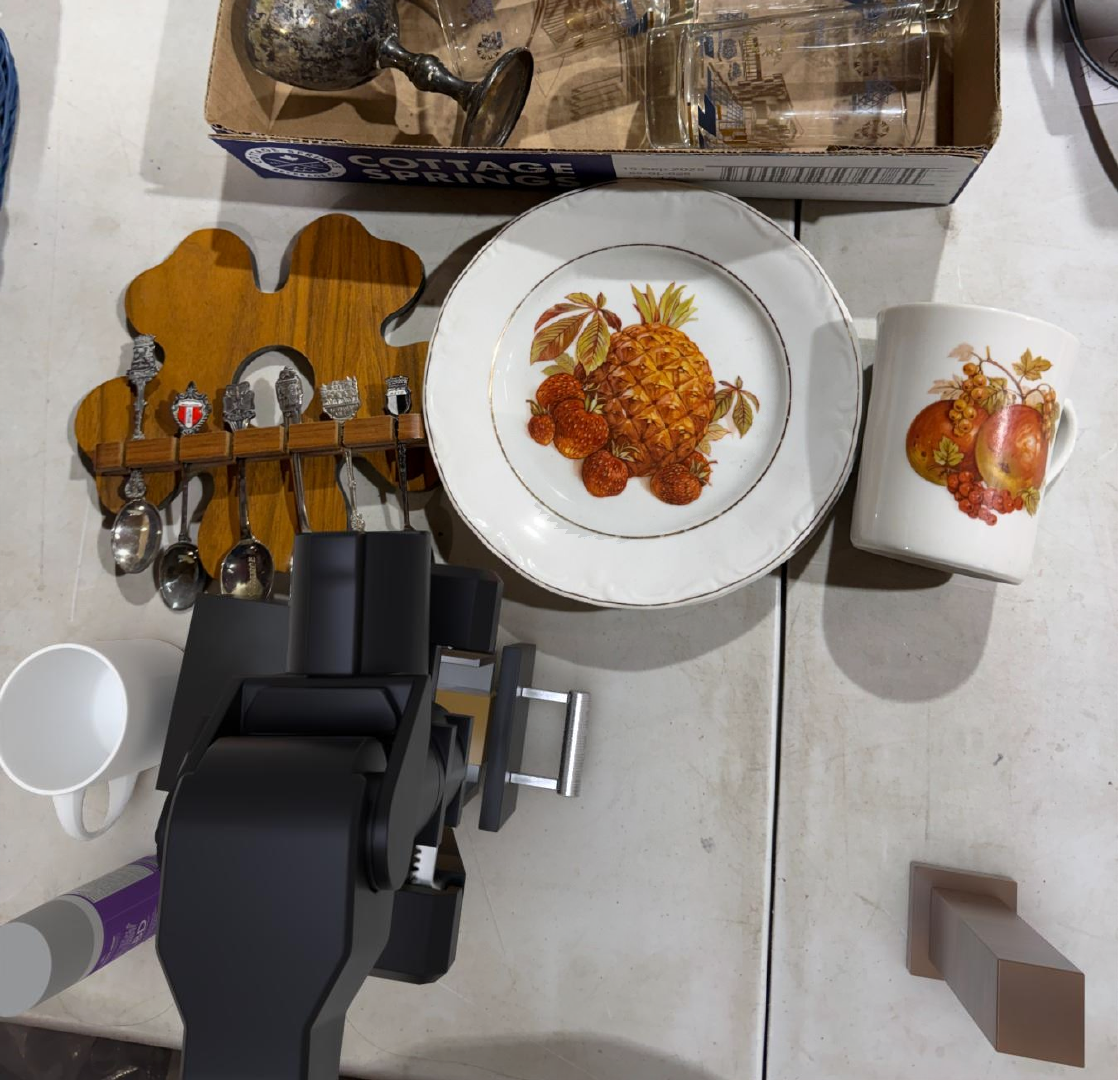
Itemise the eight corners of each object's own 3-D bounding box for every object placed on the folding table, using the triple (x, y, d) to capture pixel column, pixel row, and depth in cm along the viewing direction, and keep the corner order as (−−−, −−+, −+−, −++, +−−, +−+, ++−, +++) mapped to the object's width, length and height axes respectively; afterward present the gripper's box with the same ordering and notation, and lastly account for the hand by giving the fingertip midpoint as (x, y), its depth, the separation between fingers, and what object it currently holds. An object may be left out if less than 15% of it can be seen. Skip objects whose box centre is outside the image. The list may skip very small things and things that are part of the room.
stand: (1009, 986, 61) (1108, 1098, 47) (906, 968, 62) (973, 1072, 48) (1011, 877, 62) (1107, 954, 48) (910, 861, 63) (976, 932, 49)
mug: (74, 819, 69) (-30, 856, 59) (98, 636, 72) (2, 641, 62) (194, 824, 68) (109, 863, 58) (213, 639, 72) (135, 644, 61)
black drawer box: (422, 618, 70) (388, 619, 62) (394, 798, 67) (355, 824, 59) (251, 594, 72) (196, 592, 64) (216, 768, 69) (154, 789, 61)
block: (481, 766, 62) (417, 755, 62) (492, 757, 66) (432, 747, 66) (490, 697, 63) (428, 687, 63) (501, 692, 67) (442, 683, 67)
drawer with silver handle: (600, 653, 68) (592, 658, 61) (580, 822, 65) (570, 845, 58) (372, 621, 70) (341, 622, 63) (345, 783, 67) (310, 801, 61)
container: (182, 934, 67) (46, 1023, 52) (114, 930, 67) (-38, 1017, 53) (189, 856, 68) (59, 921, 54) (123, 853, 68) (-23, 917, 54)
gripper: (237, 536, 46) (344, 554, 61) (148, 995, 42) (287, 893, 57) (475, 565, 45) (525, 576, 60) (409, 1044, 40) (481, 926, 55)
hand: (451, 737), depth 58 cm, fingers open, 9 cm apart
